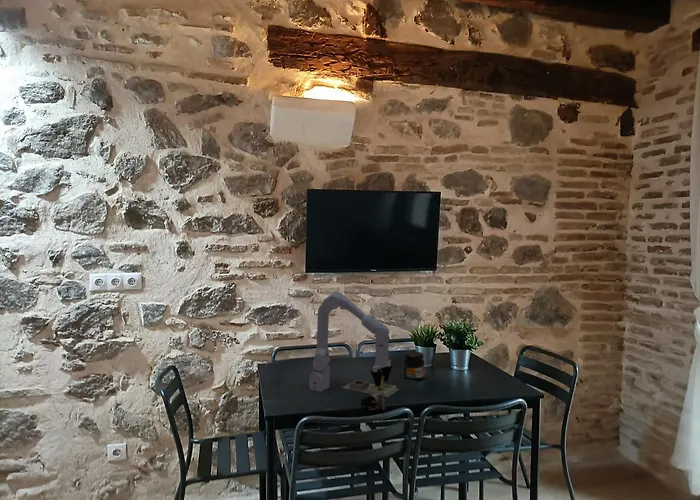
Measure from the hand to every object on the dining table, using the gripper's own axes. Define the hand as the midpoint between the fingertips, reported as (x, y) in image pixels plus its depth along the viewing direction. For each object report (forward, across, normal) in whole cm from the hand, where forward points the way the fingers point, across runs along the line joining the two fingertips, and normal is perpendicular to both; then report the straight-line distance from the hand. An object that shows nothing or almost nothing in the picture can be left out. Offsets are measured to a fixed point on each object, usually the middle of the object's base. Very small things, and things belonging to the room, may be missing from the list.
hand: (381, 383), depth 224 cm
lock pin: (+3, 0, +1) cm, 3 cm away
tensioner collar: (+4, 0, +12) cm, 12 cm away
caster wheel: (+4, -18, -5) cm, 19 cm away
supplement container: (+4, +26, -4) cm, 26 cm away
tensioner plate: (+4, 0, +6) cm, 7 cm away
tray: (+4, 0, 0) cm, 4 cm away
